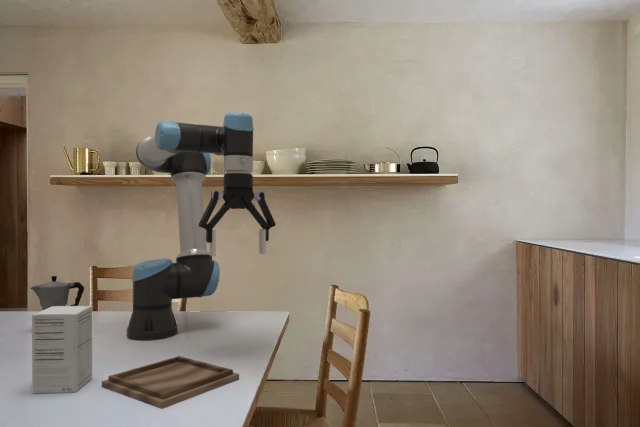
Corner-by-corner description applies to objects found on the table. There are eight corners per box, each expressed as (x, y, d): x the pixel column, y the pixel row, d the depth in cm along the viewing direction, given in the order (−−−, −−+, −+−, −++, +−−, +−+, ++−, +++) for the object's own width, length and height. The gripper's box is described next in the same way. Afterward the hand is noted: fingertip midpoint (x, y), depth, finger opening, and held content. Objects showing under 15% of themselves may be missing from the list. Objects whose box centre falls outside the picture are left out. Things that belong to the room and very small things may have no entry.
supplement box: (51, 379, 113) (51, 305, 113) (93, 378, 113) (93, 304, 114) (30, 394, 103) (30, 314, 103) (76, 392, 104) (76, 313, 104)
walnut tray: (101, 386, 108) (101, 376, 108) (179, 363, 125) (179, 354, 125) (161, 408, 95) (161, 397, 95) (239, 379, 112) (239, 369, 112)
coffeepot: (28, 336, 152) (28, 278, 152) (32, 330, 161) (32, 275, 161) (83, 332, 158) (83, 276, 158) (84, 326, 167) (84, 273, 167)
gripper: (194, 170, 119) (194, 257, 119) (287, 174, 131) (287, 253, 131) (186, 172, 125) (186, 255, 125) (276, 175, 138) (276, 251, 138)
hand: (238, 254), depth 128 cm, fingers open, 13 cm apart
